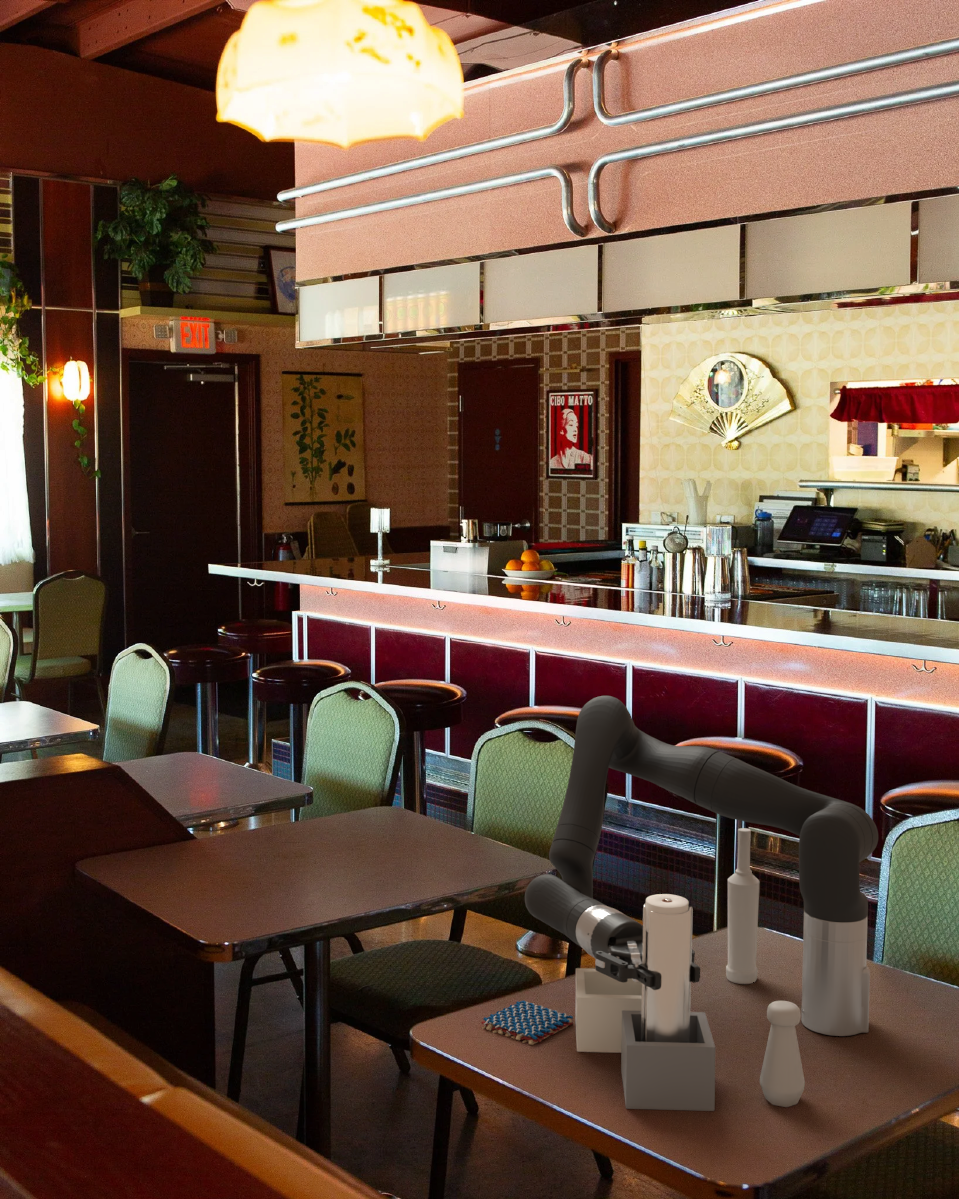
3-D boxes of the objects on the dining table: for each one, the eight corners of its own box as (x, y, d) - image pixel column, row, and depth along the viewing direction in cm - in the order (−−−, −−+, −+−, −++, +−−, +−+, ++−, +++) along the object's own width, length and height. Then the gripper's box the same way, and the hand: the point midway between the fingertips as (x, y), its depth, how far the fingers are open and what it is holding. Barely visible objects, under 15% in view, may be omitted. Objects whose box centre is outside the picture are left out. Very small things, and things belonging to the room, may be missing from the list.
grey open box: (703, 1071, 180) (704, 1012, 179) (714, 1111, 168) (715, 1047, 168) (621, 1069, 180) (621, 1010, 180) (626, 1108, 169) (626, 1045, 168)
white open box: (650, 1021, 197) (651, 969, 196) (657, 1053, 186) (657, 999, 185) (575, 1019, 198) (575, 968, 197) (576, 1051, 186) (577, 997, 186)
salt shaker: (754, 1090, 174) (755, 996, 173) (795, 1088, 175) (797, 994, 174) (767, 1111, 168) (769, 1013, 167) (810, 1109, 169) (812, 1012, 168)
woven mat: (520, 1009, 203) (520, 996, 202) (575, 1027, 196) (576, 1014, 196) (477, 1030, 195) (477, 1017, 195) (533, 1050, 188) (533, 1036, 188)
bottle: (722, 981, 213) (725, 831, 211) (728, 971, 218) (731, 824, 216) (754, 986, 211) (757, 835, 209) (760, 975, 216) (763, 827, 214)
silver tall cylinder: (687, 1094, 170) (691, 909, 168) (637, 1089, 172) (641, 905, 169) (689, 1072, 177) (693, 893, 174) (641, 1067, 178) (645, 889, 176)
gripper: (568, 919, 183) (631, 959, 167) (655, 905, 189) (724, 943, 173) (567, 971, 183) (630, 1015, 168) (654, 956, 189) (722, 997, 174)
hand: (677, 978), depth 171 cm, fingers closed on silver tall cylinder, 5 cm apart
